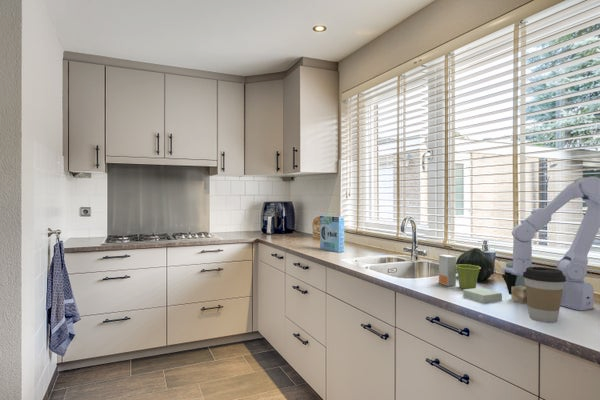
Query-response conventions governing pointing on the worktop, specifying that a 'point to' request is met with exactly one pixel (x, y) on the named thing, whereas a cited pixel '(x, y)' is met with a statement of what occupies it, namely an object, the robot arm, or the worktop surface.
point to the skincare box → (447, 270)
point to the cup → (520, 280)
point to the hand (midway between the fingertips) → (521, 296)
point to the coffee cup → (544, 292)
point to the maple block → (519, 294)
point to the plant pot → (467, 275)
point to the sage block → (482, 295)
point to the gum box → (332, 233)
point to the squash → (477, 262)
